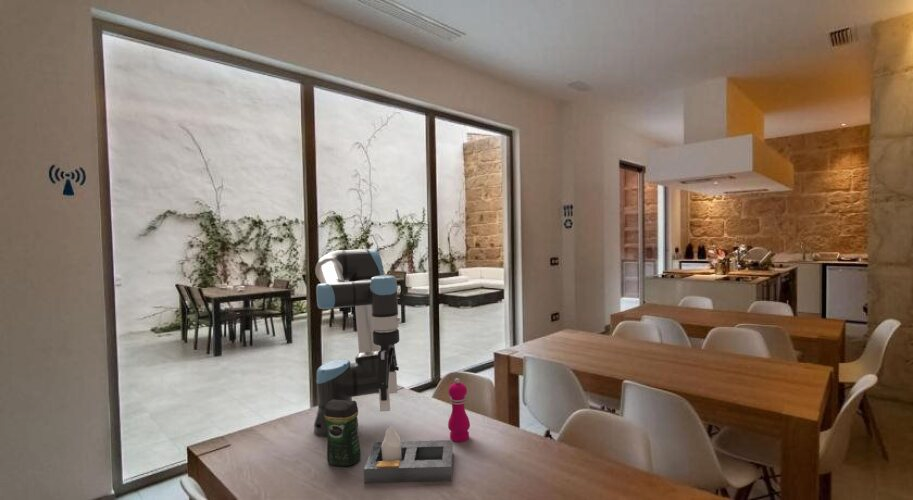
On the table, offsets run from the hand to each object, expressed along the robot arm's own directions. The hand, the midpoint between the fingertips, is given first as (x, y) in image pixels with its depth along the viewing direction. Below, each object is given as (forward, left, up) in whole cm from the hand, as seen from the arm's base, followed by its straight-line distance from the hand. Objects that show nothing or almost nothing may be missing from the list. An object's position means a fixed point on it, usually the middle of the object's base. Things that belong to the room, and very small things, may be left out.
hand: (389, 401), depth 136 cm
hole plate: (0, +6, -20) cm, 20 cm away
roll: (0, 0, -20) cm, 20 cm away
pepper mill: (-18, +20, -20) cm, 33 cm away
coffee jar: (-5, -15, -20) cm, 26 cm away
